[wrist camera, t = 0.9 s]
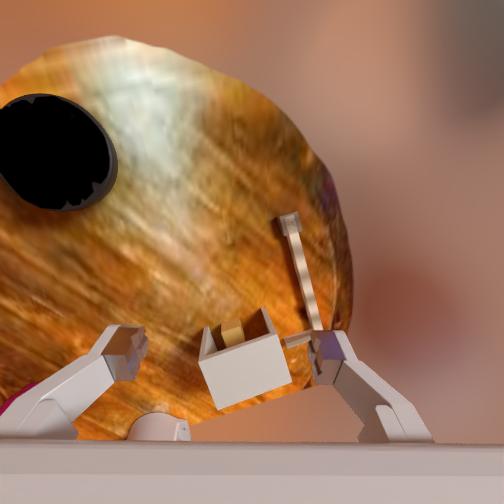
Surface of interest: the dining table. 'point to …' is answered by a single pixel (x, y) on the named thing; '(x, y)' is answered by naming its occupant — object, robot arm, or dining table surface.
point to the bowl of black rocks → (55, 153)
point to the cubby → (243, 366)
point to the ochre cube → (232, 332)
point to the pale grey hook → (300, 277)
